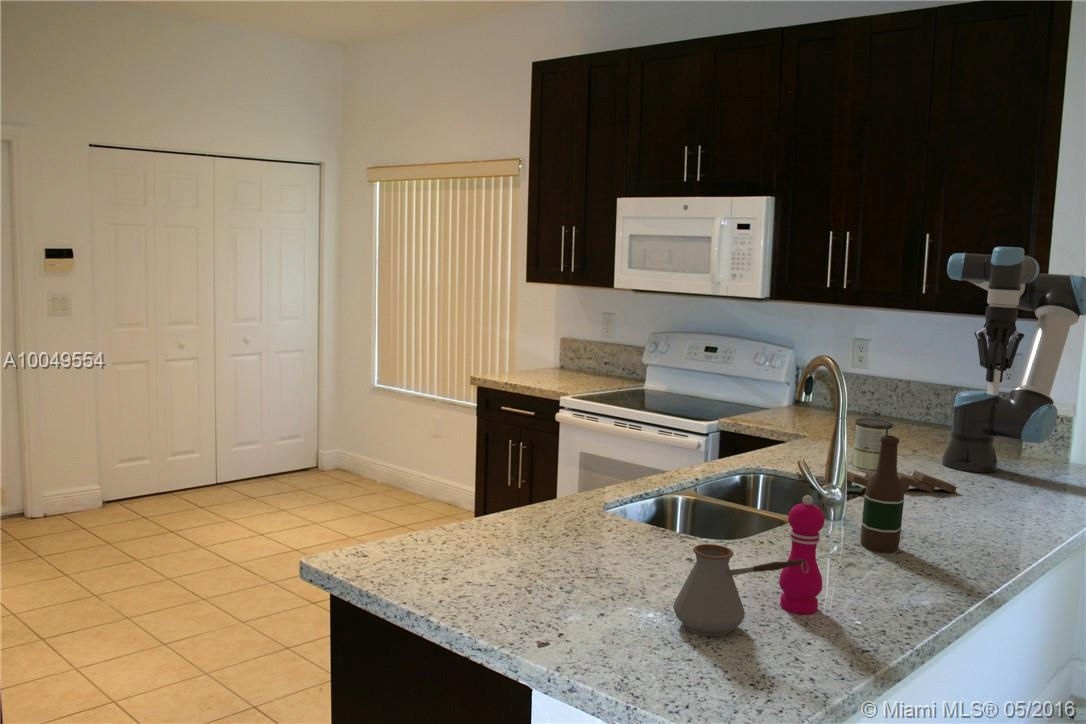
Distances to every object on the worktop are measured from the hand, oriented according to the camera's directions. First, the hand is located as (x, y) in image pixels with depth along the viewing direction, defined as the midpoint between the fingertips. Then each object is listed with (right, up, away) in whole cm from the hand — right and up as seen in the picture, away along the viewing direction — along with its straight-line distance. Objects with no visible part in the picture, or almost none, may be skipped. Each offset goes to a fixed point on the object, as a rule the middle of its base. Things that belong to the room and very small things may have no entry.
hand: (992, 394), depth 243 cm
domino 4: (-23, -25, +1) cm, 34 cm away
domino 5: (-16, -25, +1) cm, 30 cm away
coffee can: (-25, -23, +22) cm, 40 cm away
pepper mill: (-75, -34, -85) cm, 118 cm away
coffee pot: (-89, -35, -97) cm, 136 cm away
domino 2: (-31, -24, 0) cm, 39 cm away
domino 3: (-36, -25, -1) cm, 44 cm away
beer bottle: (-48, -31, -49) cm, 76 cm away
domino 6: (-11, -25, +1) cm, 27 cm away
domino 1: (-39, -23, -2) cm, 46 cm away
